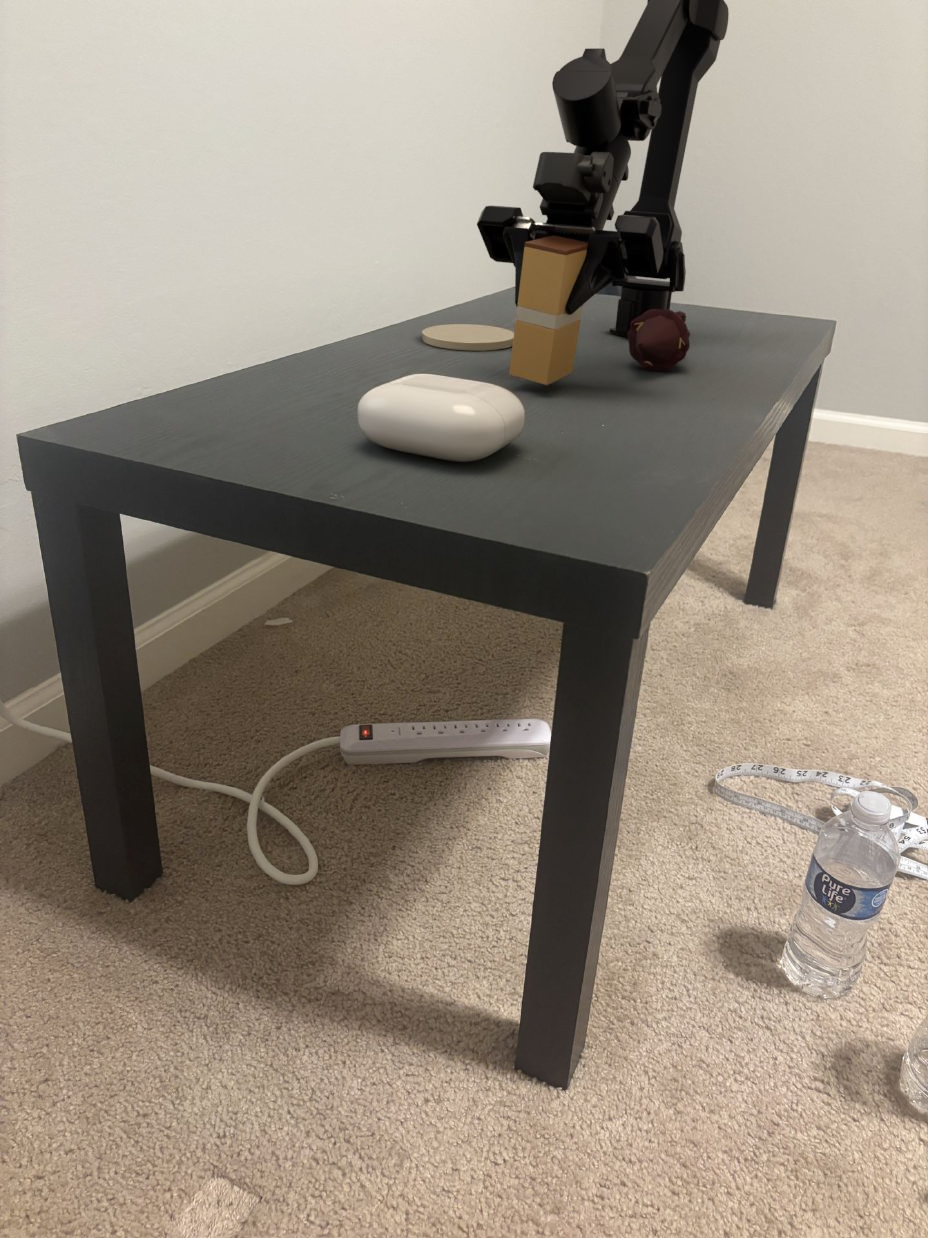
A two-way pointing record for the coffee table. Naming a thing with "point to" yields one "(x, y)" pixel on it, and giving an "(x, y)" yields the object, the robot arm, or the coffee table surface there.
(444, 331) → the plate
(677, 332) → the maroon dungeon die
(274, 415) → the coffee table surface
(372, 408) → the earbud case
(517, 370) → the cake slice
